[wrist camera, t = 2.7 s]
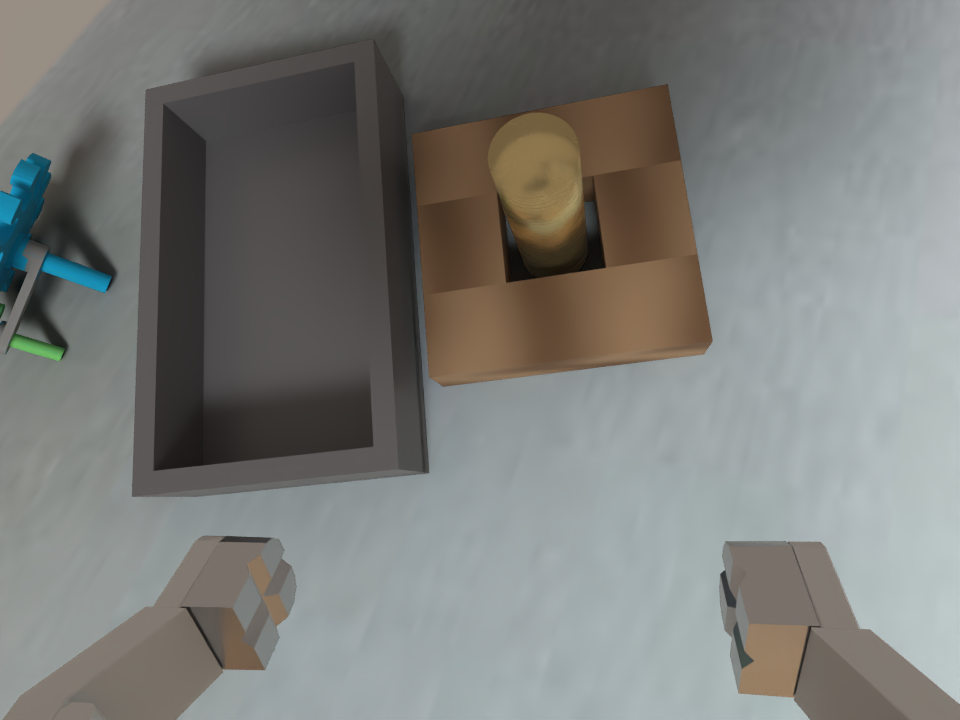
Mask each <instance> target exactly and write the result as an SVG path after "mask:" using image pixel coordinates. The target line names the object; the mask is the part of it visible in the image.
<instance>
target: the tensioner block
mask: <svg viewBox="0 0 960 720" xmlns="http://www.w3.org/2000/svg"><path fill="white" fill-rule="evenodd" d="M528 113H547V114H552V115H554V116H557V117H559V118H561V119H562V120H564V121H565V122H566V123H567V124H568V125H569V126H570V127H571V128H572V129H573V131H574V132H575V134H576V136H577V139H578V143H579V150H580V162H581V173H582V185H583V196H584V202H588V201H595V208H596V215H597V222H598V229H599V236H600V244H601V251H602V258H603V265H604V268H602V269H595V270H589V271H582V272H575V273H569V274H562V275H555V276H549V277H542V278H535V279H529V280H522V281H515V282H512V277H511V267H510V257H509V248H508V238H507V229H506V219H505V215H506V213H505V211H504V208H503V205H502V203H501V200H500V197H499V194H498V192H497V189H496V186H495V183H494V181H493V178H492V175H491V173H490V170H489V166H488V151H489V147H490V144H491V142H492V140H493V138H494V136H495V135H496V133H497V132H498V131H499V130H500V129H501V127H503V126H504V125H505V124H506V123H507V122H509V121H510V120H512V119H514V118H516V117H518V116H521V115H524V114H528ZM412 143H413V157H414V171H415V185H416V199H417V213H418V227H419V241H420V255H421V269H422V283H423V297H424V311H425V325H426V339H427V353H428V367H429V377H430V378H431V379H433V380H434V381H436V382H437V383H439V384H440V385H442V386H443V387H444V386H452V385H460V384H468V383H476V382H484V381H492V380H500V379H508V378H516V377H524V376H532V375H540V374H548V373H556V372H564V371H572V370H581V369H589V368H597V367H605V366H613V365H621V364H629V363H637V362H645V361H653V360H661V359H669V358H677V357H685V356H693V355H701V354H704V353H705V352H706V350H707V349H708V347H709V346H710V344H711V343H712V335H711V329H710V324H709V318H708V312H707V306H706V301H705V295H704V289H703V284H702V278H701V272H700V266H699V261H698V255H697V249H696V244H695V238H694V232H693V227H692V221H691V215H690V209H689V204H688V198H687V192H686V187H685V181H684V175H683V170H682V164H681V158H680V152H679V147H678V141H677V135H676V130H675V124H674V118H673V113H672V107H671V101H670V95H669V90H668V84H666V85H661V86H656V87H651V88H646V89H641V90H635V91H630V92H625V93H620V94H615V95H610V96H605V97H599V98H594V99H589V100H584V101H579V102H574V103H569V104H564V105H558V106H553V107H548V108H543V109H538V110H533V111H528V112H523V113H517V114H512V115H507V116H502V117H497V118H492V119H487V120H481V121H476V122H471V123H466V124H461V125H456V126H451V127H446V128H440V129H435V130H430V131H425V132H420V133H415V134H412Z"/></svg>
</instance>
